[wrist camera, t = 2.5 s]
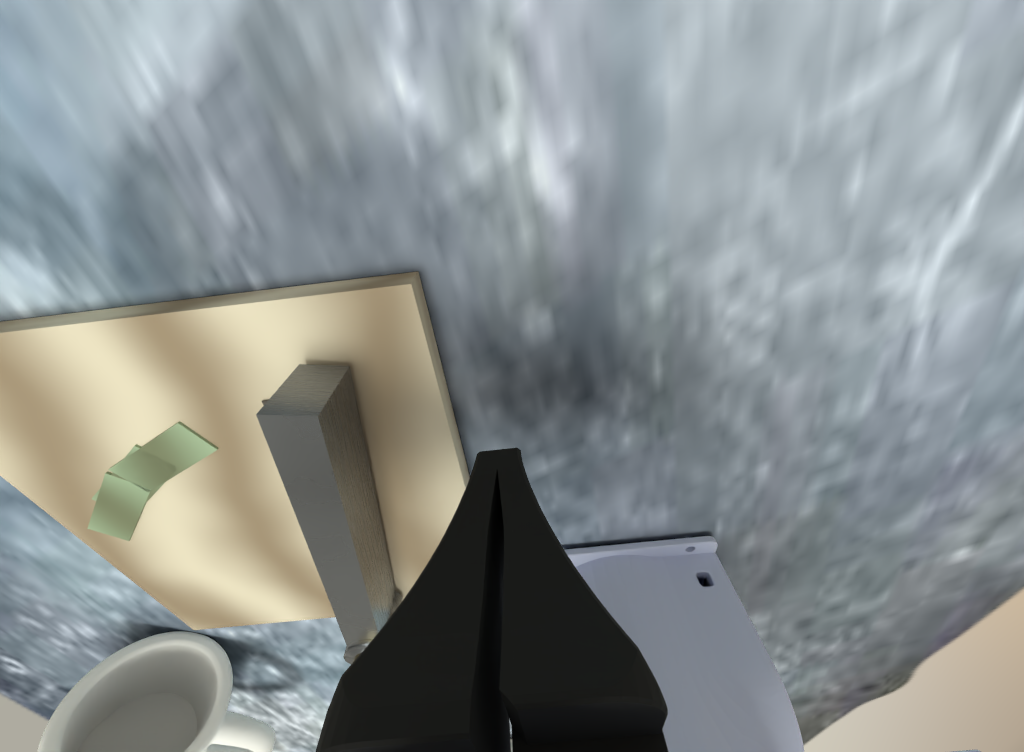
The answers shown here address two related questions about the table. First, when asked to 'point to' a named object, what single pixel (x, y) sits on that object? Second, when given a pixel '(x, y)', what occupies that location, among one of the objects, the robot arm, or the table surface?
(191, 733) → the mug
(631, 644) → the robot arm
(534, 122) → the table surface
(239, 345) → the board
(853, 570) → the table surface
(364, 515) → the pointer
